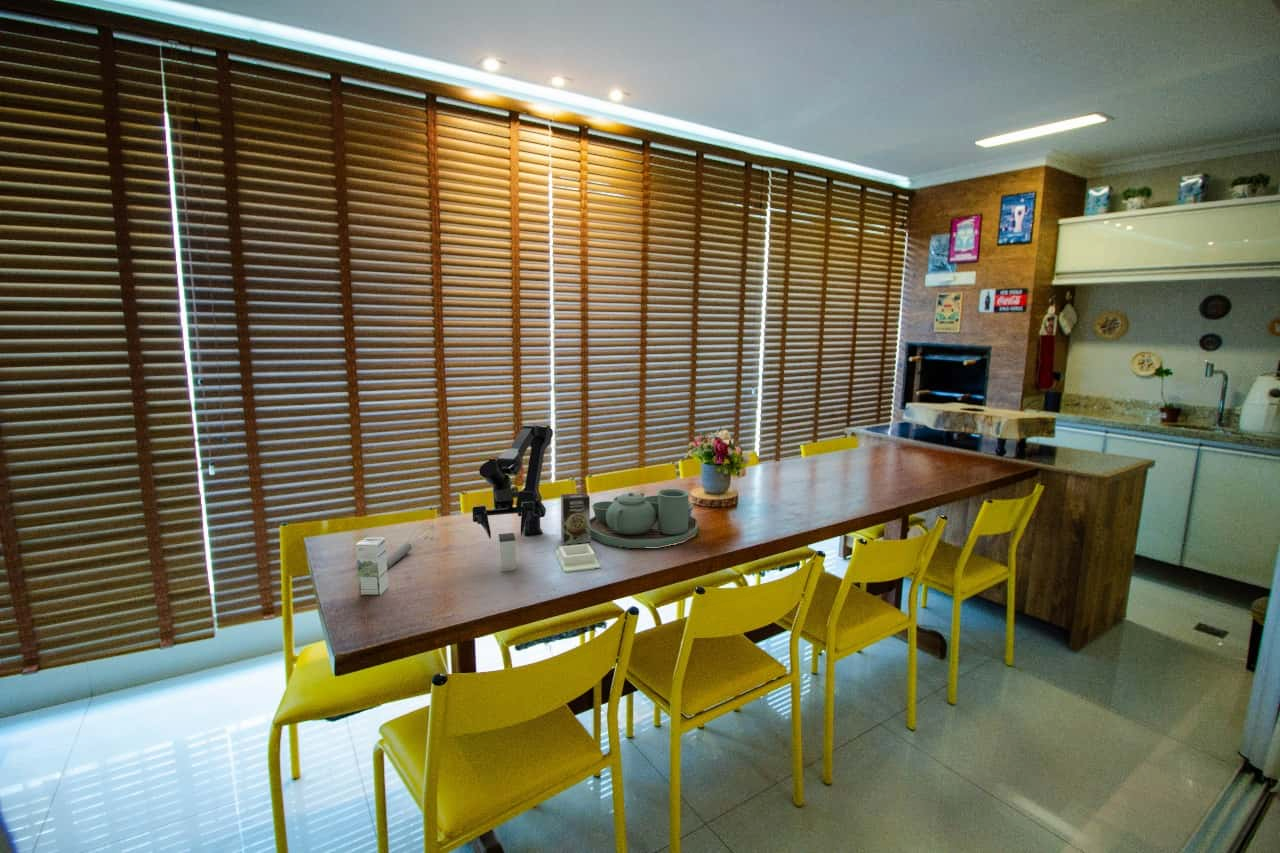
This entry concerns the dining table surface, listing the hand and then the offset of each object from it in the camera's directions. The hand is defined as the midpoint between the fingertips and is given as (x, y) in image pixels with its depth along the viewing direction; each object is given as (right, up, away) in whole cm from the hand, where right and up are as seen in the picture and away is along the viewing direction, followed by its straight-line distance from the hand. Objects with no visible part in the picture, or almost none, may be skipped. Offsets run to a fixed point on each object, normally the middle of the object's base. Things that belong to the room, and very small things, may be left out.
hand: (506, 536), depth 170 cm
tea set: (+41, -5, +35) cm, 54 cm away
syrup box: (-32, -12, -16) cm, 38 cm away
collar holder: (+21, -9, +6) cm, 23 cm away
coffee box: (+18, -6, +23) cm, 30 cm away
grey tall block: (0, -10, 0) cm, 10 cm away
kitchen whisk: (-34, -8, +13) cm, 38 cm away
